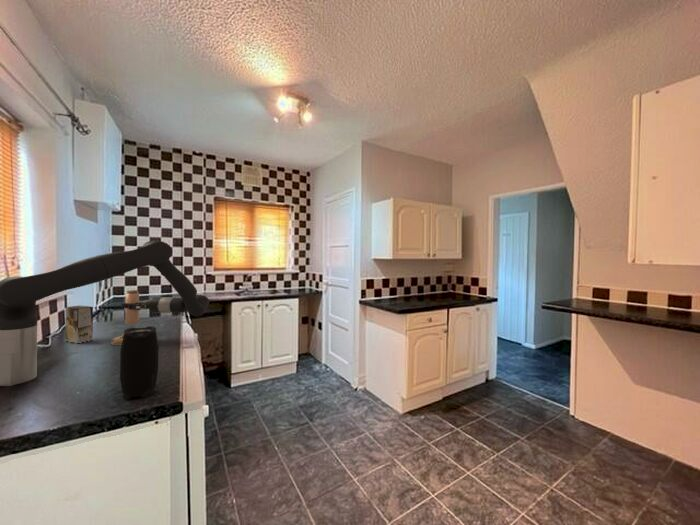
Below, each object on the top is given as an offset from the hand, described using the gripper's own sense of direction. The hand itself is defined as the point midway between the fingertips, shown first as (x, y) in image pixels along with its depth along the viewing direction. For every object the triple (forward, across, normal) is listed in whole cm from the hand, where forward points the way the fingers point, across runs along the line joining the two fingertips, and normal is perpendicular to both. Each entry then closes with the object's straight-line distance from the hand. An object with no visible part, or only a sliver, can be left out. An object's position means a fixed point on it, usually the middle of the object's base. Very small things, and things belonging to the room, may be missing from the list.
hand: (126, 304), depth 144 cm
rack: (-2, 0, +17) cm, 17 cm away
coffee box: (+21, +1, +17) cm, 27 cm away
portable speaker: (-40, +55, +18) cm, 71 cm away
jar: (-3, 0, +8) cm, 9 cm away
